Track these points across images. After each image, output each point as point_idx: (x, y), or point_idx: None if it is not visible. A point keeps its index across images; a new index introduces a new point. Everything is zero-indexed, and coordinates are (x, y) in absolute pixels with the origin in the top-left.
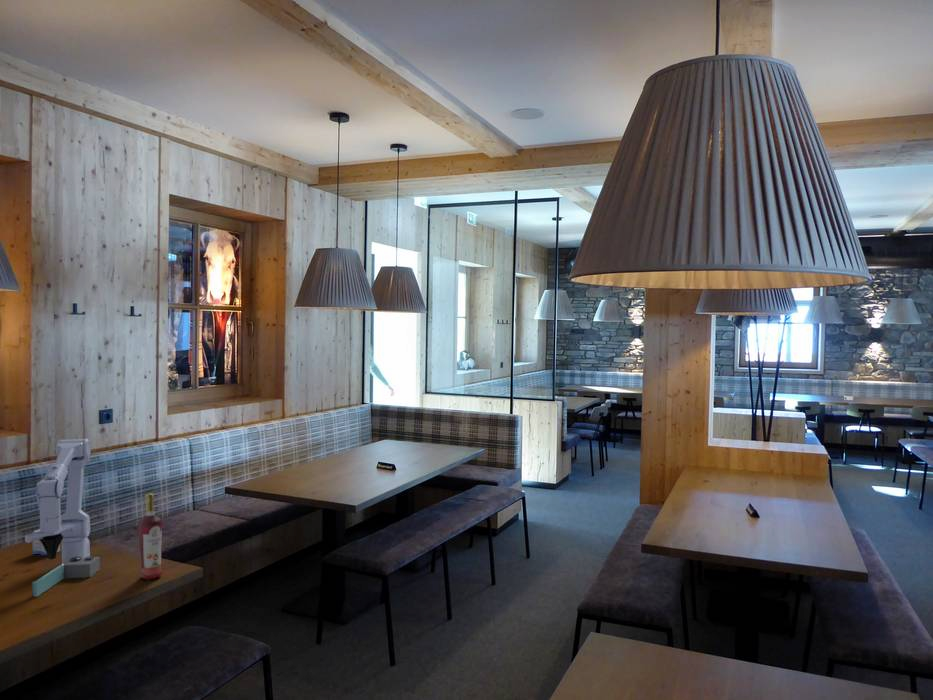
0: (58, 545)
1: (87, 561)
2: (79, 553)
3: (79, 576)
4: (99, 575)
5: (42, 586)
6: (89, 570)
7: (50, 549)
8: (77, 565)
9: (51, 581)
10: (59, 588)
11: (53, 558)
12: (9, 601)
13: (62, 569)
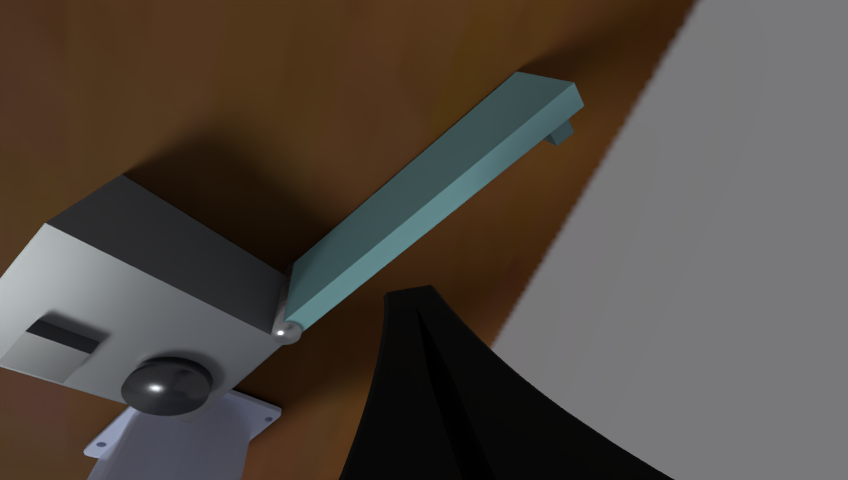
0: (368, 440)
1: (73, 306)
2: (134, 465)
3: (196, 227)
4: (38, 165)
5: (481, 124)
6: (91, 197)
7: (503, 373)
8: (175, 281)
9: (393, 194)
10: (359, 125)
11: (409, 290)
12: (605, 144)
13: (292, 298)
